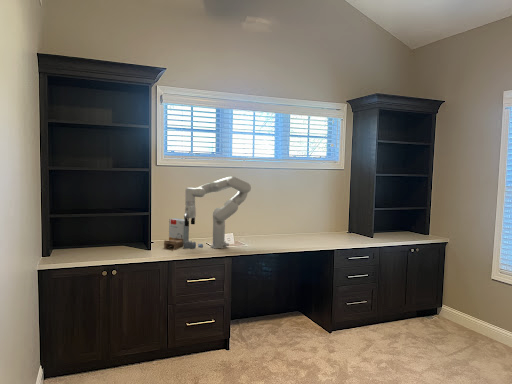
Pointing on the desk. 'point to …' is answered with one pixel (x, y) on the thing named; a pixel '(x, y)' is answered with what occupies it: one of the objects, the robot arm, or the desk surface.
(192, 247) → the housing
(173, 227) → the hard drive box
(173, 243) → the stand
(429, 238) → the desk surface
